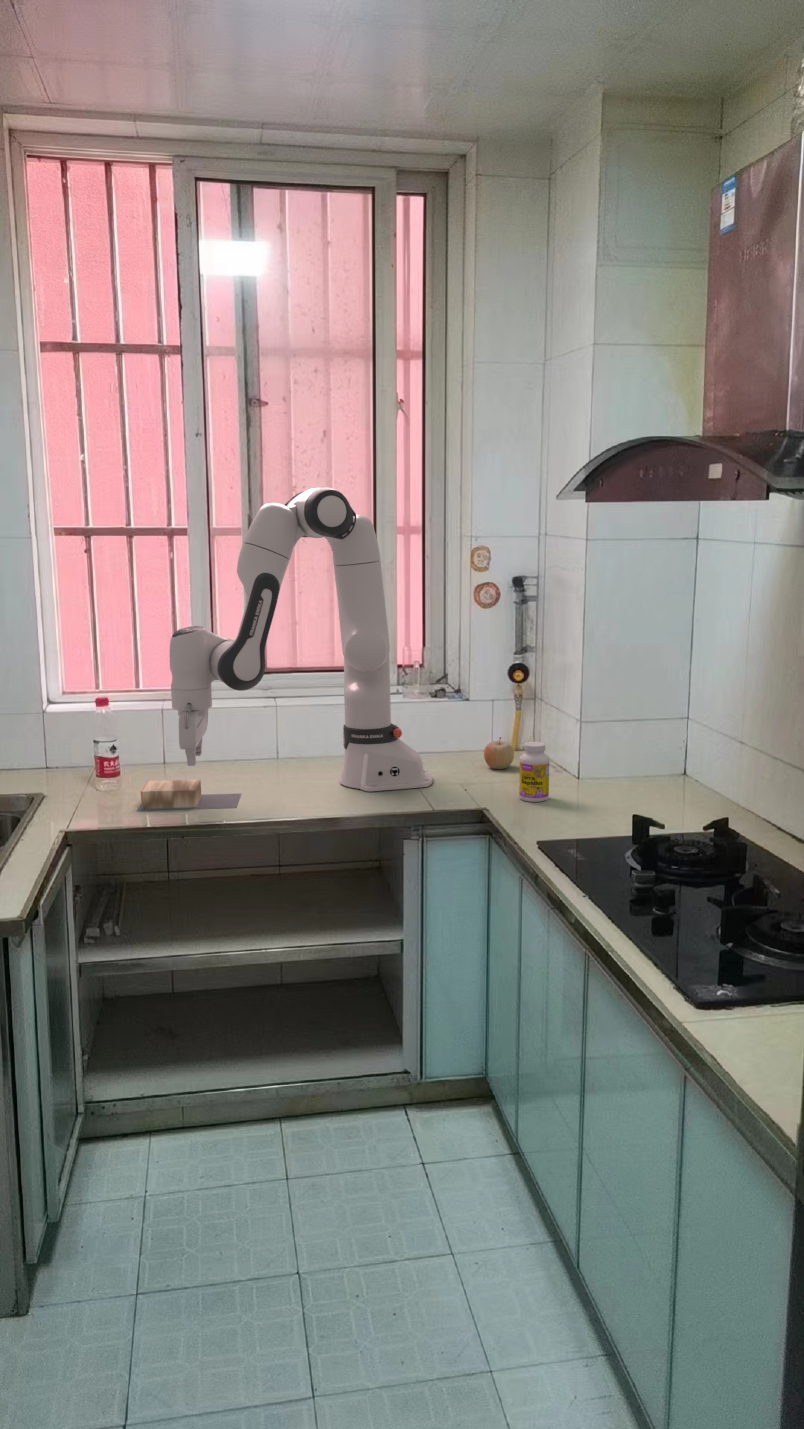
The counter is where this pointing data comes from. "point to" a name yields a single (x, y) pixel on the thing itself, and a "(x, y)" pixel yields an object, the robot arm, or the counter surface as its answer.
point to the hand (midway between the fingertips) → (194, 760)
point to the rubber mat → (208, 802)
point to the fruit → (498, 754)
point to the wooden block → (171, 794)
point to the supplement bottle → (534, 773)
